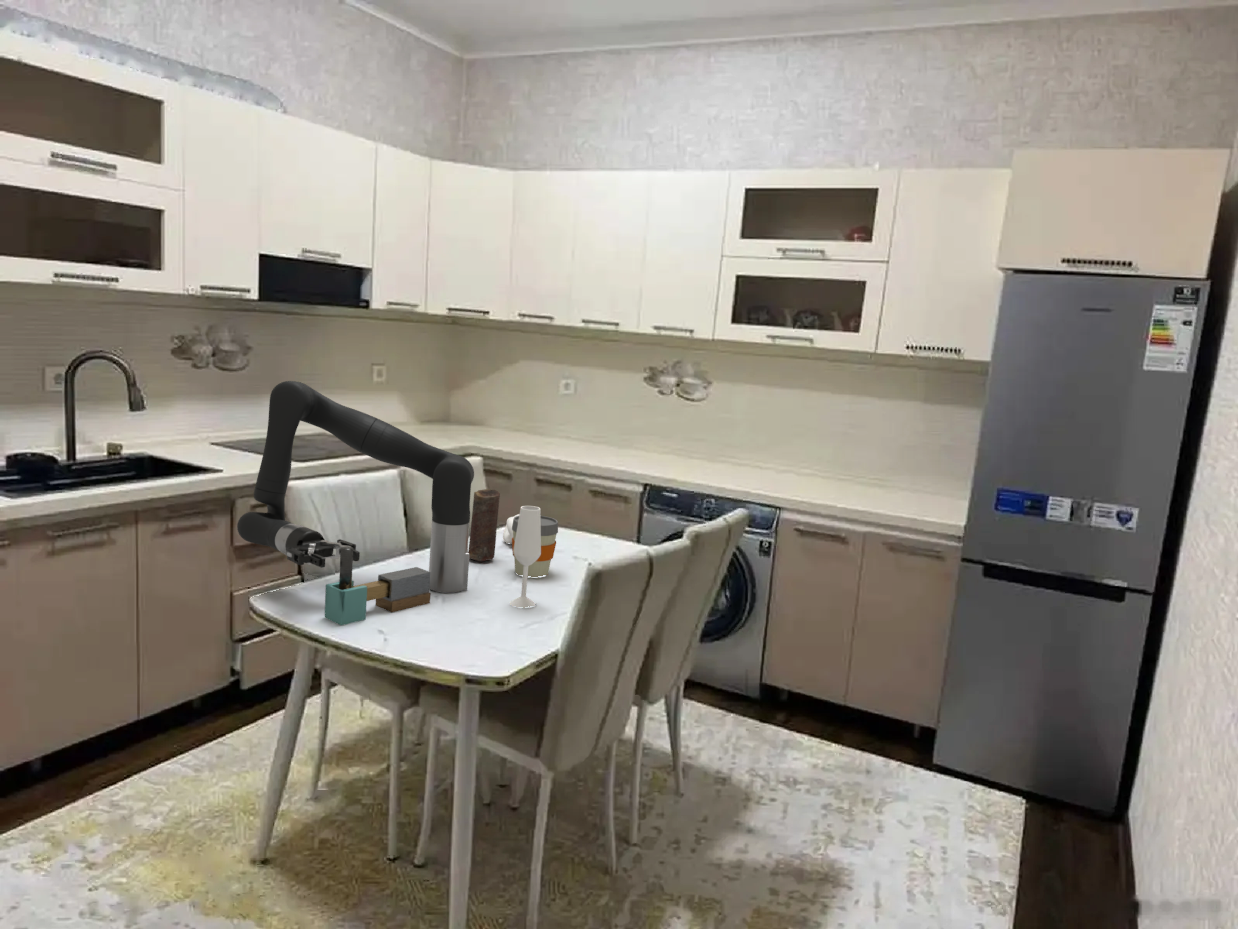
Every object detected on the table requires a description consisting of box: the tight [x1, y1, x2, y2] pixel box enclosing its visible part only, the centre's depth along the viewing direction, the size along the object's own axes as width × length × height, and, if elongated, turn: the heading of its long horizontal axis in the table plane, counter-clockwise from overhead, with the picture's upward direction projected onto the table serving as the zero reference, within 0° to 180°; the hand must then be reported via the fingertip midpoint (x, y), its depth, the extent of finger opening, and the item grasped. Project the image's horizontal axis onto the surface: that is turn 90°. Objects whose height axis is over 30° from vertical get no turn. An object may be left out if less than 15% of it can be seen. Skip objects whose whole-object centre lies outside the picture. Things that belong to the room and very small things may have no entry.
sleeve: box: [375, 566, 432, 614], centre depth 199 cm, size 11×6×8 cm, turn 142°
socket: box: [324, 579, 368, 626], centre depth 187 cm, size 6×6×8 cm
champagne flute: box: [509, 505, 542, 608], centre depth 206 cm, size 7×7×24 cm
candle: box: [468, 488, 501, 563], centre depth 239 cm, size 8×7×20 cm
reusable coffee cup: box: [511, 515, 559, 577], centre depth 232 cm, size 13×13×15 cm
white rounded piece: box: [502, 513, 520, 545], centre depth 260 cm, size 11×12×9 cm
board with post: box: [338, 547, 390, 602], centre depth 190 cm, size 14×3×12 cm, turn 142°
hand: (341, 559), depth 186 cm, fingers open, 8 cm apart
